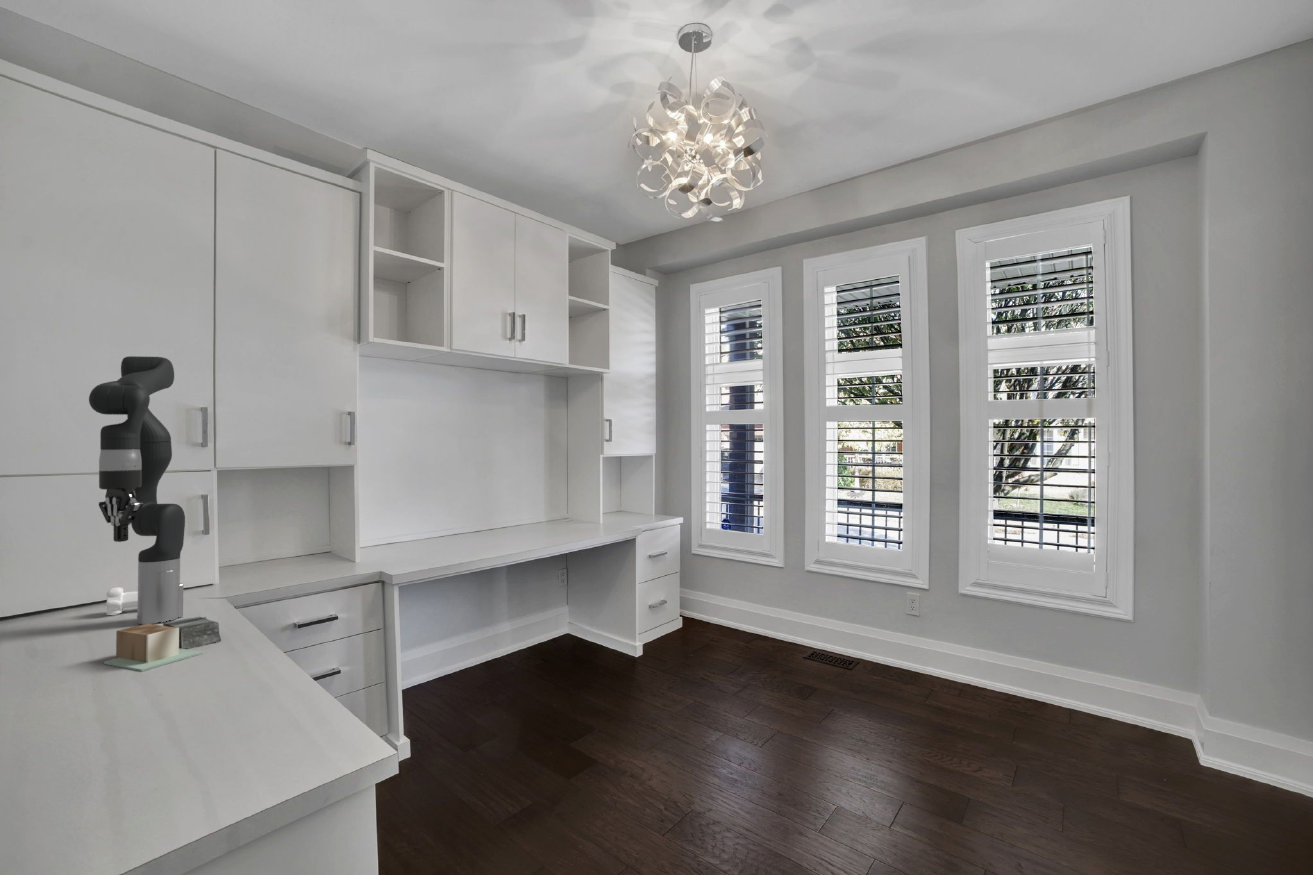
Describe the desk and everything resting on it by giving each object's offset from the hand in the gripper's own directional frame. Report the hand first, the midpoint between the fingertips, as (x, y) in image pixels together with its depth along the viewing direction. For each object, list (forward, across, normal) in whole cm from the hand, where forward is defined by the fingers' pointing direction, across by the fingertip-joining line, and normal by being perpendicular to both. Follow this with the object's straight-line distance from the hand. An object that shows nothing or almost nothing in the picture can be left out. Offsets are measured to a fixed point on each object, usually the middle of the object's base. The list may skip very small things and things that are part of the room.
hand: (120, 541), depth 140 cm
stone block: (+27, -7, -12) cm, 30 cm away
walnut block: (+23, -5, 0) cm, 23 cm away
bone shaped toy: (+28, +42, -27) cm, 57 cm away
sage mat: (+26, -13, +1) cm, 29 cm away
